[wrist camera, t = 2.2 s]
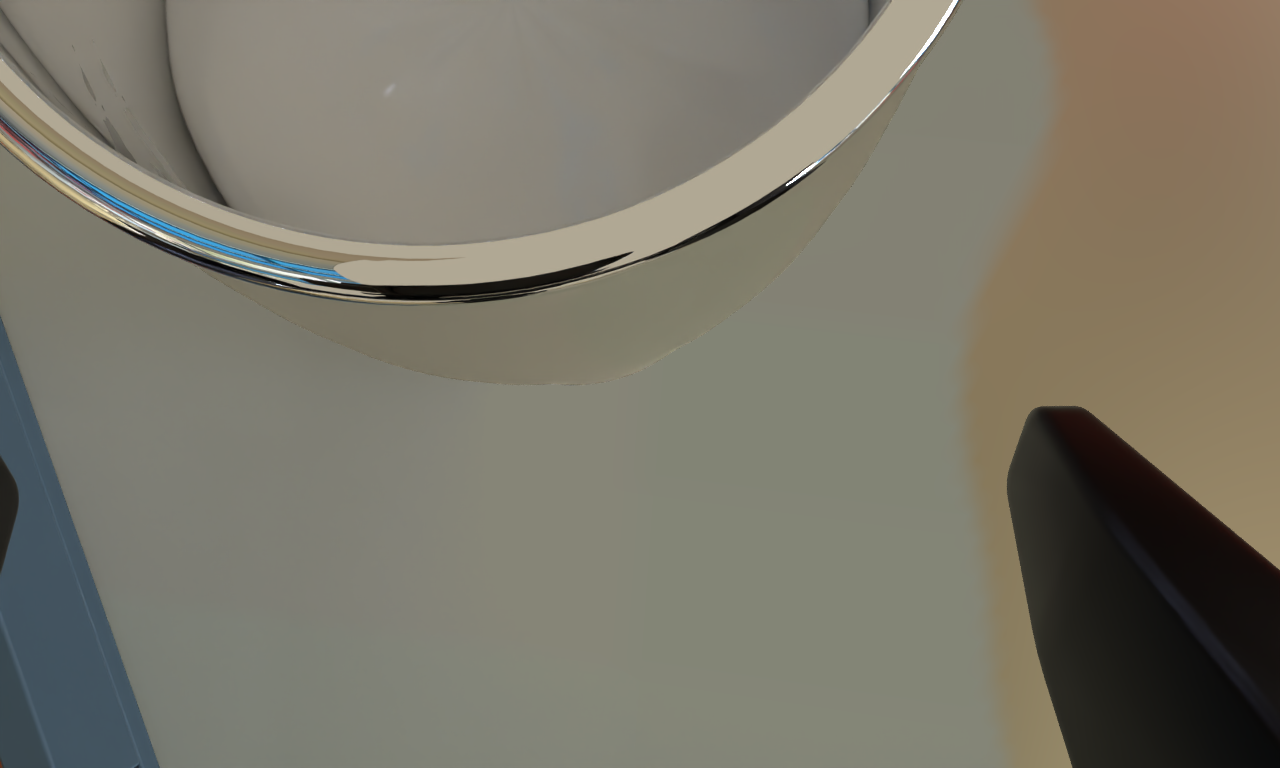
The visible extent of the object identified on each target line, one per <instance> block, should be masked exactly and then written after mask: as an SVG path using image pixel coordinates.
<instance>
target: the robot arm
mask: <svg viewBox="0 0 1280 768" xmlns="http://www.w3.org/2000/svg"><path fill="white" fill-rule="evenodd" d="M1007 495H1008V501H1009V507H1010V512H1011V518H1012V523H1013V528H1014V533H1015V539H1016V544H1017V550H1018V555H1019V560H1020V566H1021V571H1022V577H1023V582H1024V587H1025V592H1026V598H1027V603H1028V609H1029V613H1030V620H1031V625H1032V630H1033V635H1034V639H1035V644H1036V648H1037V653H1038V657H1039V660H1040V664H1041V667H1042V671H1043V674H1044V678H1045V681H1046V684H1047V687H1048V690H1049V694H1050V697H1051V700H1052V703H1053V707H1054V710H1055V713H1056V716H1057V719H1058V723H1059V726H1060V729H1061V732H1062V735H1063V739H1064V741H1065V745H1066V748H1067V751H1068V754H1069V758H1070V761H1071V764H1072V767H1073V768H1280V570H1279V569H1278V568H1276V567H1275V566H1274V565H1273V564H1272V563H1271V562H1269V561H1268V560H1267V559H1266V558H1265V557H1263V556H1262V555H1261V554H1260V553H1259V552H1257V551H1256V550H1255V549H1254V548H1253V547H1251V546H1250V545H1249V544H1248V543H1246V542H1245V541H1244V540H1243V539H1242V538H1240V537H1239V536H1238V535H1237V534H1235V533H1234V532H1233V531H1232V530H1231V529H1230V528H1229V527H1227V526H1226V525H1225V524H1224V523H1223V522H1221V521H1220V520H1219V519H1218V518H1217V517H1215V516H1214V515H1213V514H1212V513H1210V512H1209V511H1208V510H1207V509H1206V508H1204V507H1203V506H1202V505H1201V504H1199V503H1198V502H1197V501H1196V500H1195V499H1194V498H1192V497H1191V496H1190V495H1189V494H1187V493H1186V492H1185V491H1184V490H1183V489H1182V488H1180V487H1179V486H1178V485H1177V484H1176V483H1174V482H1173V481H1172V480H1171V479H1170V478H1168V477H1167V476H1166V475H1165V474H1164V473H1162V472H1161V471H1160V470H1159V469H1158V468H1156V467H1155V466H1154V465H1153V464H1152V463H1150V462H1149V461H1148V460H1147V459H1145V458H1144V457H1143V456H1142V455H1140V453H1138V452H1137V451H1136V450H1135V449H1134V448H1132V447H1131V446H1130V445H1129V444H1128V443H1126V442H1125V441H1124V440H1123V439H1122V438H1120V437H1119V436H1118V435H1117V434H1115V433H1114V432H1113V431H1112V430H1111V429H1110V428H1108V427H1107V426H1106V425H1105V424H1103V423H1102V422H1101V421H1100V420H1099V419H1098V418H1096V417H1095V416H1094V415H1093V414H1092V413H1090V412H1089V411H1087V410H1086V409H1084V408H1082V407H1077V406H1043V407H1038V408H1035V409H1033V410H1032V411H1031V412H1030V414H1029V415H1028V417H1027V419H1026V422H1025V425H1024V428H1023V431H1022V433H1021V436H1020V439H1019V442H1018V445H1017V448H1016V451H1015V454H1014V456H1013V459H1012V462H1011V465H1010V468H1009V472H1008V478H1007ZM18 507H19V491H18V487H17V483H16V481H15V479H14V477H13V475H12V474H11V472H10V470H9V469H8V467H7V465H6V464H5V462H4V460H3V459H2V457H1V455H0V575H1V571H2V568H3V564H4V560H5V557H6V553H7V549H8V546H9V542H10V538H11V535H12V531H13V527H14V524H15V520H16V516H17V513H18Z"/></svg>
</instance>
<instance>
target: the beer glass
mask: <svg viewBox="0 0 1280 768" xmlns="http://www.w3.org/2000/svg"><path fill="white" fill-rule="evenodd" d="M962 2H963V0H0V144H1V145H2V146H3V147H4V148H5V149H6V150H7V151H8V152H9V153H10V154H11V155H13V156H14V157H15V158H16V159H17V160H19V161H20V162H21V163H22V164H23V165H25V166H26V167H27V168H28V169H30V170H31V171H32V172H33V173H34V174H36V175H37V176H38V177H40V178H41V179H42V180H44V181H45V182H46V183H48V184H49V185H50V186H52V187H53V188H54V189H56V190H57V191H58V192H60V193H61V194H63V195H64V196H66V197H67V198H69V199H70V200H72V201H73V202H75V203H76V204H78V205H79V206H80V207H82V208H83V209H85V210H86V211H88V212H90V213H92V214H93V215H95V216H97V217H98V218H100V219H102V220H103V221H105V222H107V223H108V224H110V225H112V226H114V227H115V228H117V229H119V230H121V231H123V232H125V233H127V234H128V235H130V236H132V237H134V238H136V239H138V240H139V241H141V242H144V243H146V244H148V245H150V246H152V247H154V248H156V249H159V250H161V251H163V252H165V253H167V254H169V255H172V256H174V257H177V258H179V259H181V260H184V261H186V262H189V263H191V264H192V265H194V266H195V267H197V268H199V269H200V270H202V271H203V272H205V273H206V274H208V275H209V276H211V277H213V278H214V279H216V280H218V281H219V282H221V283H223V284H224V285H226V286H228V287H229V288H231V289H233V290H234V291H236V292H238V293H240V294H241V295H243V296H245V297H247V298H248V299H250V300H252V301H254V302H255V303H257V304H259V305H261V306H262V307H264V308H266V309H268V310H269V311H271V312H273V313H275V314H276V315H278V316H280V317H282V318H284V319H286V320H288V321H289V322H291V323H293V324H295V325H297V326H299V327H301V328H303V329H305V330H308V331H310V332H312V333H314V334H316V335H318V336H321V337H323V338H326V339H328V340H330V341H333V342H335V343H338V344H340V345H342V346H345V347H347V348H350V349H352V350H354V351H357V352H359V353H362V354H364V355H367V356H369V357H371V358H374V359H377V360H380V361H383V362H385V363H388V364H391V365H395V366H398V367H401V368H405V369H408V370H412V371H416V372H420V373H424V374H428V375H433V376H438V377H443V378H449V379H456V380H463V381H472V382H482V383H493V384H505V385H546V384H560V385H589V384H598V383H604V382H609V381H613V380H617V379H620V378H623V377H626V376H629V375H632V374H634V373H637V372H639V371H641V370H643V369H645V368H647V367H649V366H651V365H653V364H655V363H656V362H658V361H660V360H661V359H663V358H664V357H666V356H667V355H668V354H670V353H671V352H672V351H675V350H677V349H679V348H680V347H682V346H684V345H686V344H688V343H690V342H692V341H693V340H695V339H697V338H698V337H700V336H702V335H703V334H705V333H707V332H708V331H710V330H711V329H713V328H714V327H716V326H717V325H718V324H720V323H721V322H723V321H724V320H725V319H727V318H728V317H729V316H731V315H732V314H733V313H735V312H736V311H738V310H739V309H740V308H742V307H743V306H744V305H746V304H747V303H748V302H750V301H751V300H752V299H753V298H754V297H756V296H757V295H758V294H759V293H761V292H762V291H763V290H764V289H765V288H766V287H767V286H769V285H770V284H771V283H772V282H773V281H774V280H775V279H776V278H777V277H778V276H779V275H780V274H781V273H782V272H783V271H784V270H785V269H786V268H787V267H788V266H789V265H790V264H791V263H792V262H793V261H794V260H795V259H796V258H797V257H798V255H799V254H800V253H801V252H802V251H803V250H804V249H805V248H806V246H807V245H808V244H809V243H810V241H811V240H812V239H813V238H814V237H815V235H816V234H817V233H818V231H819V230H820V229H821V227H822V226H823V225H824V223H825V222H826V220H827V219H828V218H829V216H830V215H831V214H832V212H833V211H834V210H835V208H836V207H837V206H838V204H839V203H840V202H841V200H842V199H843V198H844V196H845V195H846V193H847V192H848V191H849V189H850V188H851V187H852V185H853V184H854V182H855V181H856V179H857V178H858V176H859V175H860V173H861V171H862V170H863V168H864V167H865V165H866V163H867V162H868V160H869V158H870V157H871V155H872V153H873V152H874V150H875V148H876V146H877V144H878V143H879V141H880V139H881V137H882V136H883V134H884V132H885V130H886V128H887V127H888V125H889V123H890V121H891V120H892V118H893V116H894V114H895V112H896V111H897V109H898V107H899V105H900V103H901V101H902V100H903V98H904V96H905V94H906V92H907V90H908V88H909V86H910V84H911V82H912V80H913V78H914V76H915V74H916V72H917V70H918V68H919V66H920V65H921V64H922V62H923V61H924V60H925V58H926V57H927V55H928V54H929V53H930V51H931V50H932V49H933V47H934V46H935V45H936V43H937V42H938V40H939V39H940V37H941V36H942V34H943V33H944V31H945V30H946V28H947V27H948V25H949V24H950V22H951V21H952V19H953V17H954V16H955V14H956V12H957V10H958V9H959V7H960V5H961V4H962Z"/></svg>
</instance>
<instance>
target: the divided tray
mask: <svg viewBox="0 0 1280 768" xmlns="http://www.w3.org/2000/svg"><path fill="white" fill-rule="evenodd" d="M0 455H1V457H2V459H3V460H4V462H5V464H6V465H7V467H8V469H9V470H10V472H11V474H12V475H13V477H14V479H15V481H16V483H17V487H18V491H19V507H18V513H17V516H16V520H15V524H14V527H13V531H12V535H11V538H10V542H9V546H8V549H7V553H6V557H5V560H4V564H3V568H2V571H1V575H0V768H160V767H159V765H158V762H157V759H156V756H155V753H154V750H153V748H152V745H151V742H150V739H149V736H148V733H147V731H146V728H145V725H144V722H143V719H142V716H141V714H140V711H139V708H138V705H137V702H136V699H135V697H134V694H133V691H132V688H131V685H130V682H129V680H128V677H127V674H126V671H125V668H124V665H123V663H122V660H121V657H120V654H119V651H118V648H117V646H116V643H115V640H114V637H113V634H112V631H111V629H110V626H109V623H108V620H107V617H106V614H105V612H104V609H103V606H102V603H101V600H100V597H99V595H98V592H97V589H96V586H95V583H94V580H93V578H92V575H91V572H90V569H89V566H88V563H87V561H86V558H85V555H84V552H83V549H82V546H81V544H80V541H79V538H78V535H77V532H76V529H75V527H74V524H73V521H72V518H71V515H70V512H69V510H68V507H67V504H66V501H65V498H64V495H63V493H62V490H61V487H60V484H59V481H58V478H57V476H56V473H55V470H54V467H53V464H52V461H51V459H50V456H49V453H48V450H47V447H46V444H45V442H44V439H43V436H42V433H41V430H40V427H39V425H38V422H37V419H36V416H35V413H34V410H33V408H32V405H31V402H30V399H29V396H28V393H27V391H26V388H25V385H24V382H23V379H22V376H21V374H20V371H19V368H18V365H17V362H16V359H15V357H14V354H13V351H12V348H11V345H10V342H9V340H8V337H7V334H6V331H5V328H4V325H3V323H2V320H1V317H0Z"/></svg>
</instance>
